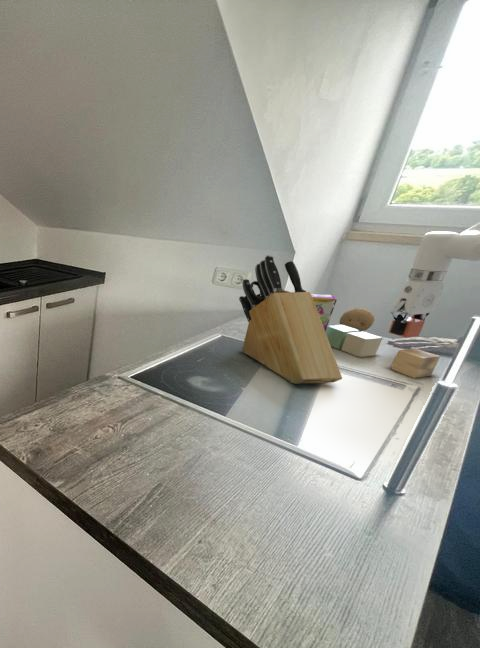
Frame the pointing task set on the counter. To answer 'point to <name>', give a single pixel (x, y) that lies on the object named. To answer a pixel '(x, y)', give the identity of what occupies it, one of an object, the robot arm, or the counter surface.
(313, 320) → the knife block
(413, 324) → the terracotta block
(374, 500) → the counter surface
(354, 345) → the cream block
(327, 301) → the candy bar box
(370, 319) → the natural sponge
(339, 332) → the sage block
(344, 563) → the counter surface
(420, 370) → the beech block
